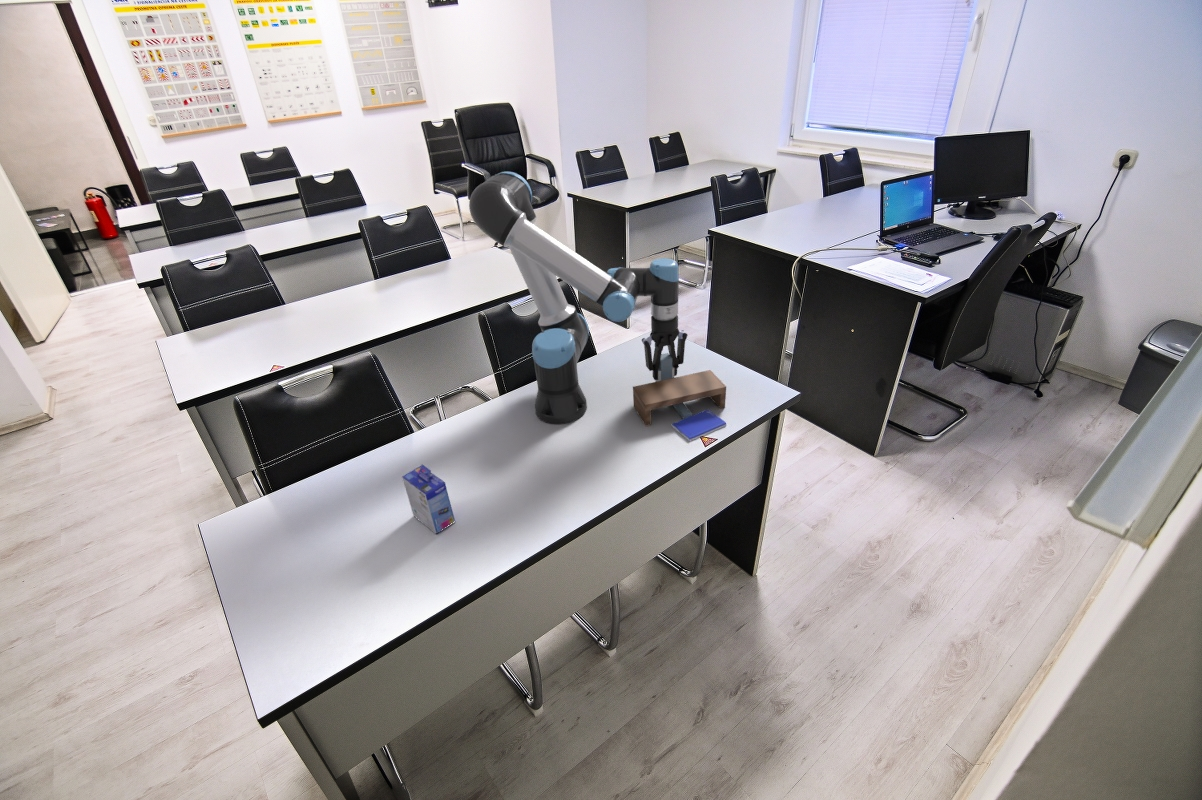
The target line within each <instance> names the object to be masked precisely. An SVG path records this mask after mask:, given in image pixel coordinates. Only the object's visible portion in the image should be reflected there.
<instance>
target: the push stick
mask: <svg viewBox="0 0 1202 800" xmlns="http://www.w3.org/2000/svg"><path fill="white" fill-rule="evenodd" d="M659 369H660V370H661V381H662V380H666V379H671V378H672V357H671V356H670V355H669V352H666V353H661V359H660V364H659ZM672 406H673V407H674V409H675V410H676V412H677V413H678V414H679V416H680V417H681V418H682V420H683V419H685V418H688V417H690V416H693V415H692V414H693V413H692V412H691V410H690V409H689V408H688V406H687V405H686V404H685V402H683V403H679V404H674V405H672Z"/></svg>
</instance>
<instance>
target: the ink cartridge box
mask: <svg viewBox="0 0 1202 800" xmlns="http://www.w3.org/2000/svg"><path fill="white" fill-rule="evenodd" d="M401 478H402V481H403V485H404V488H405V491H406V492H405V493H406V495H407V498H408V501H409V505H410V508H411V512H412V515H413V517H414V516H415V517H417V518H418V519H419V520H420V521H421V522H420V521H419V520H418V519H417V518H416V519H417V520H418V521H419V522H420V523H422V522H423V523H424V524H425V525H426V526H425V525H424V524H423V523H422V524H423V525H424V526H425V527H427V526H428V527H429V528H430V529H431V530H430V529H429V528H428V527H427V528H428V529H429V530H430V531H432V530H433V531H434V532H435V533H438V532H439V531H441V530H442V529H444V528H445V527H447V526H448V525H450V524H451V523H453V522H454V521H455V522H456V520H455V519H456V518H455V516H454V512H453V508H452V504H451V500H450V496H449V493H448V489H447V486H446V482H445V481H444V480H443V479H441V478H440V477H438V476H436V475H435V474H434V473H432V470H431V469H429V467H426V466H425V465H424V464H420V466H418V467H416V468H414V469H413V470H411V471H409V472H408V473H406V474H405V475H403V476H402V477H401ZM415 517H414V518H415ZM447 528H448V527H447ZM444 530H445V529H444ZM433 531H432V532H433ZM434 532H433V533H434ZM441 532H442V531H441ZM435 533H434V534H435ZM439 533H440V532H439ZM439 533H438V534H439Z"/></svg>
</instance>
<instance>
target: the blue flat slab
mask: <svg viewBox="0 0 1202 800" xmlns="http://www.w3.org/2000/svg"><path fill="white" fill-rule="evenodd" d="M726 426H727V421H725V420H723V419H722V418H721V417H719V416H718V415H717V414H715V412H713V411H712V410H710V409H705V410H702V411H700V412H698V413H695V414H693V415H692V416H690V417H688V418H685V419H683V418H682V419H681V420H678V421H676V422H673V423H671V428H673V429H674V430H675V431H677V432H678V433H679V434H680V435H681V436H682V437H684V438H685V439H686V440H687V441H688V442H691V441H693V440H696V439H698V438H701V437H702V436H705V435H708V434H710V433H712V432H715V431H716V430H719V429H722V428H724V427H726Z"/></svg>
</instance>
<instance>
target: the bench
mask: <svg viewBox="0 0 1202 800" xmlns="http://www.w3.org/2000/svg"><path fill="white" fill-rule="evenodd" d="M632 395H633V396H632V399H633V408H634V410H635V412H636V413H637V415H638V417H640V419H641V421H642V422H643V424H644V426H645V427H648V426H651V425H652V418H651V417H652V411H651V410H657V409H661V408H666V407H669V406H673V405H674V404H679V403H687V402H692V401H696V400H700V399H703V398H704V399H706V398H710V399H711V400H712V401H713V403H715V404H716V405H717V406H718V409H724V408H726V399H727V396H726V395H727V385H725V384H724V383H723V382H722V380H720V378H719V377H718V376H717V375H716V374H715V373H714V372H713V371H712V370H711V369H709V370H704V371H699V372H694V373H690V374H686V375H681V376H674V378H671V379H666V380H662V381H657V382H655V381H654V382H649V383H644V384H640V385H634V386H632Z"/></svg>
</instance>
